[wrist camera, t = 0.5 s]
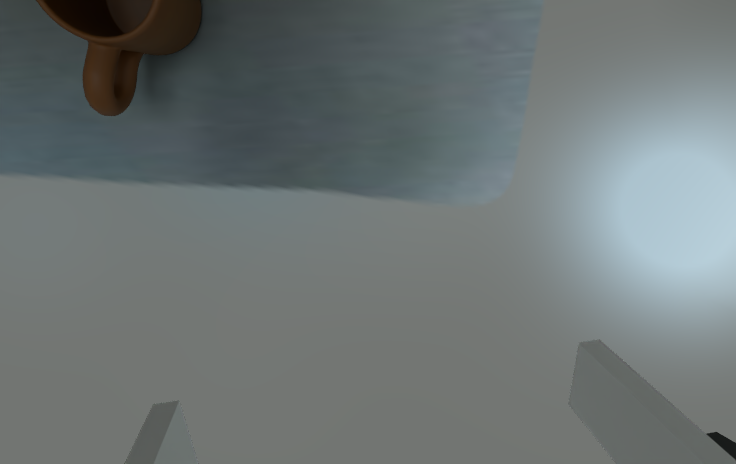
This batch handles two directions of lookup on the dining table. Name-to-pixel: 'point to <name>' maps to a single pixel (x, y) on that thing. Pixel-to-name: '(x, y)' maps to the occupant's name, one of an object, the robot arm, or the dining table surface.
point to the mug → (123, 41)
